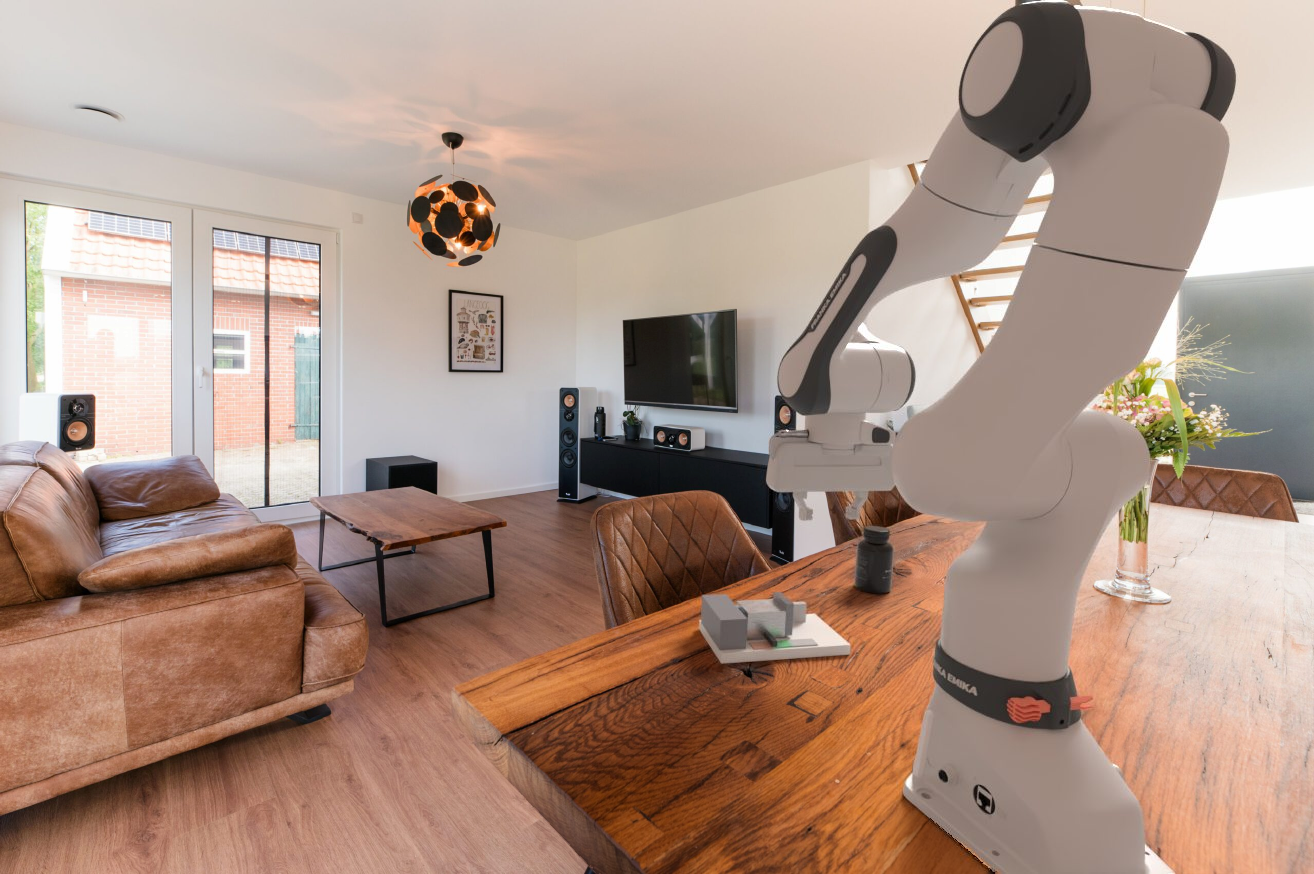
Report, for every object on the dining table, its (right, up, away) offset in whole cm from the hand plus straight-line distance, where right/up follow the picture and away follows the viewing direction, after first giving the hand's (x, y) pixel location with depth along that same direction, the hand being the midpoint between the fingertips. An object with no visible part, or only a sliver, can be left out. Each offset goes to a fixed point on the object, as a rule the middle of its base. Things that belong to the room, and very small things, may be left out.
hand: (829, 519), depth 96 cm
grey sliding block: (-10, -17, -2) cm, 20 cm away
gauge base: (-9, -19, 0) cm, 21 cm away
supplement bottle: (+16, -17, +26) cm, 34 cm away
